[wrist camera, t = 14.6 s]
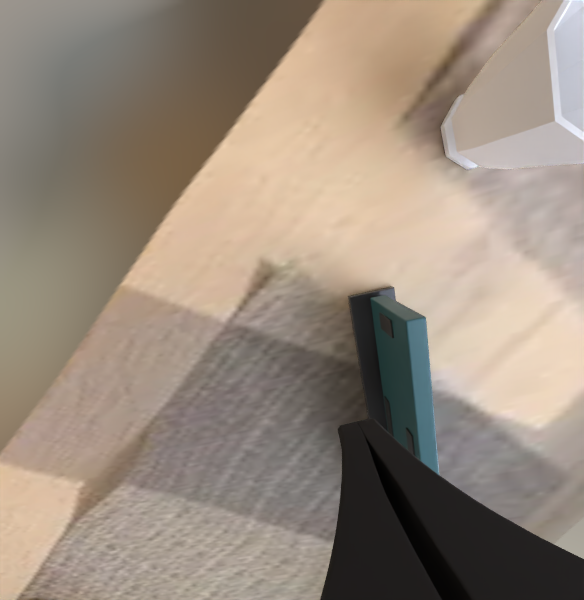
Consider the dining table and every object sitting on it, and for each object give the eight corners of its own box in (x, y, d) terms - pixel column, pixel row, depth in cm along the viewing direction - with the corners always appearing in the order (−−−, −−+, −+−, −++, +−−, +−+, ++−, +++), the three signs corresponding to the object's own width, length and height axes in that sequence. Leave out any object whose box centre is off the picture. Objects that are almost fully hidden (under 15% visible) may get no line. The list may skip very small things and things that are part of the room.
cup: (395, 121, 17) (505, 21, 9) (539, -8, 16) (809, -252, 8) (458, 217, 18) (602, 204, 10) (593, 104, 17) (867, -7, 9)
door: (403, 450, 21) (443, 516, 16) (389, 454, 21) (424, 520, 16) (385, 294, 18) (426, 316, 13) (368, 297, 18) (403, 321, 13)
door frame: (423, 483, 23) (535, 669, 13) (374, 494, 23) (451, 690, 13) (399, 284, 19) (533, 339, 9) (340, 297, 19) (413, 366, 9)
